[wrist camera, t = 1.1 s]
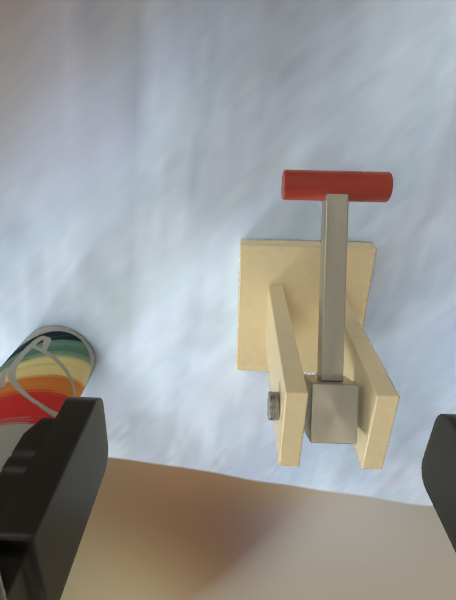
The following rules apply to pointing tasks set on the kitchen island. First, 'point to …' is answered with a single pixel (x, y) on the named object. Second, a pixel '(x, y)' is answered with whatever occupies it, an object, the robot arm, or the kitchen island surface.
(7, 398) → the lotion bottle
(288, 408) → the bracket
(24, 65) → the kitchen island surface
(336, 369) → the lever
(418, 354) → the kitchen island surface
